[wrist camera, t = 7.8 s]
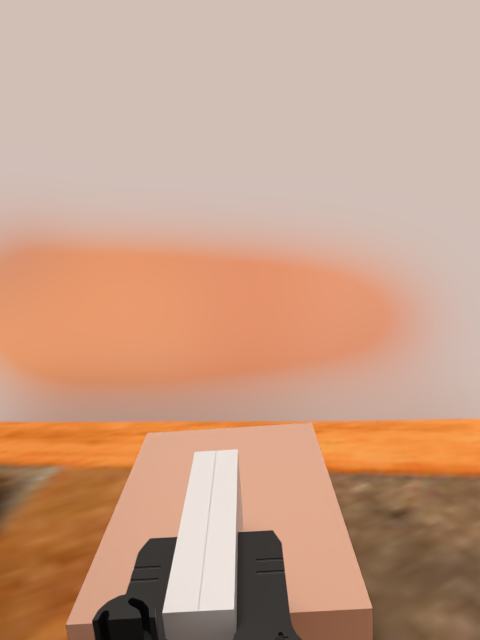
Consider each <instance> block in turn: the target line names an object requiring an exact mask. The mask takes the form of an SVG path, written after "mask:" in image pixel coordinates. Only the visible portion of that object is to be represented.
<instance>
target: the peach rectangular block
mask: <svg viewBox="0 0 480 640" xmlns="http://www.w3.org/2000/svg"><path fill="white" fill-rule="evenodd" d="M234 449H238V458H239V471H240V484H241V497H242V509H243V532H250V531H268V530H273V531H274V533H275V534H276V535H277V537H278V538H279V540H280V541H281V542H282V550H283V559H284V567H285V576H286V585H287V593H288V602H289V611H290V619H291V623H292V627H293V628H294V630H295V632H296V634H297V635H298V636H299V637H300V638H301V639H302V640H373V608H372V605H371V602H370V599H369V596H368V593H367V590H366V587H365V584H364V581H363V578H362V575H361V571H360V568H359V565H358V562H357V559H356V556H355V553H354V550H353V547H352V544H351V541H350V538H349V535H348V532H347V529H346V526H345V523H344V520H343V517H342V514H341V510H340V507H339V504H338V501H337V498H336V495H335V492H334V489H333V486H332V483H331V480H330V477H329V474H328V471H327V468H326V465H325V462H324V459H323V456H322V453H321V449H320V446H319V443H318V440H317V437H316V434H315V431H314V428H313V425H312V423H302V424H286V425H270V426H254V427H237V428H221V429H205V430H189V431H173V432H157V433H147V435H146V438H145V440H144V442H143V445H142V447H141V449H140V452H139V454H138V456H137V459H136V461H135V463H134V466H133V468H132V470H131V473H130V475H129V477H128V480H127V482H126V485H125V487H124V489H123V492H122V494H121V496H120V499H119V501H118V503H117V506H116V508H115V510H114V513H113V515H112V517H111V520H110V522H109V524H108V527H107V529H106V531H105V534H104V536H103V539H102V541H101V543H100V546H99V548H98V550H97V553H96V555H95V557H94V560H93V562H92V564H91V567H90V569H89V571H88V574H87V576H86V578H85V581H84V583H83V585H82V588H81V590H80V593H79V595H78V597H77V600H76V602H75V604H74V607H73V609H72V611H71V614H70V616H69V618H68V621H67V623H66V629H67V634H68V639H69V640H95V635H94V630H93V624H92V620H93V618H94V616H95V615H96V613H97V611H98V610H99V609H100V608H101V607H102V606H103V605H104V604H105V603H107V602H108V601H110V600H112V599H114V598H115V597H117V596H120V595H125V594H126V591H127V588H128V585H129V583H130V578H131V575H132V572H133V570H134V565H135V562H136V559H137V555H138V552H139V551H140V550H141V548H142V547H143V546H144V545H145V544H146V542H147V541H148V540H149V539H150V538H165V537H178V532H179V527H180V522H181V517H182V512H183V508H184V503H185V498H186V493H187V488H188V483H189V478H190V473H191V468H192V463H193V458H194V453H195V452H201V451H217V450H234Z"/></svg>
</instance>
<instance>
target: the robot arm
mask: <svg viewBox="0 0 480 640" xmlns="http://www.w3.org/2000/svg"><path fill="white" fill-rule="evenodd" d="M92 624H93V630H94V635H95V640H302V639H301V638H300V637H299V636H298V635H297V634H296V632H295V630H294V628H293V627H292V623H291V619H290V611H289V602H288V593H287V585H286V576H285V567H284V559H283V550H282V542H281V541H280V540H279V538H278V537H277V535H276V534H275V533H274V531H273V530H268V531H250V532H243V509H242V497H241V484H240V471H239V458H238V449H234V450H217V451H201V452H195V453H194V458H193V463H192V468H191V473H190V478H189V483H188V488H187V493H186V498H185V503H184V508H183V512H182V517H181V522H180V527H179V532H178V537H165V538H150V539H149V540H148V541H147V542H146V544H145V545H144V546H143V547H142V548H141V550H140V551H139V552H138V555H137V559H136V562H135V565H134V570H133V572H132V575H131V578H130V583H129V585H128V588H127V591H126V594H125V595H120V596H117V597H115V598H114V599H112V600H110V601H108V602H107V603H105V604H104V605H103V606H102V607H101V608H100V609H99V610H98V611H97V613H96V615H95V616H94V618H93V620H92Z"/></svg>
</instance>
